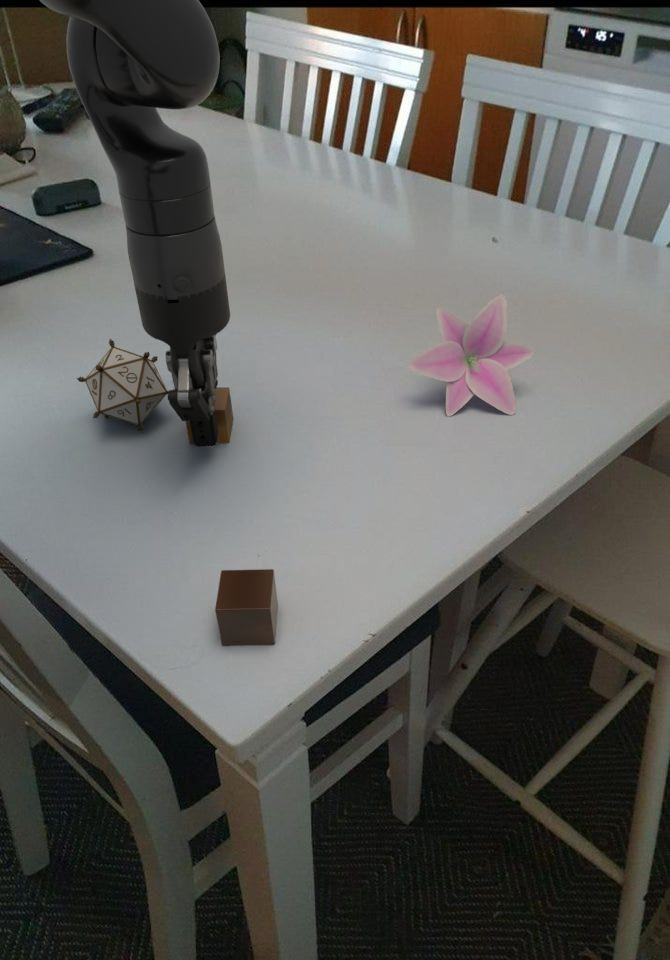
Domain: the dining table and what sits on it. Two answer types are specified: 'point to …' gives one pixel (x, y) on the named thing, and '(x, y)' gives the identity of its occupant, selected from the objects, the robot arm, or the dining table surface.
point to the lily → (474, 358)
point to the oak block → (220, 416)
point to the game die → (125, 386)
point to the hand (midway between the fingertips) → (206, 442)
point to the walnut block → (247, 607)
